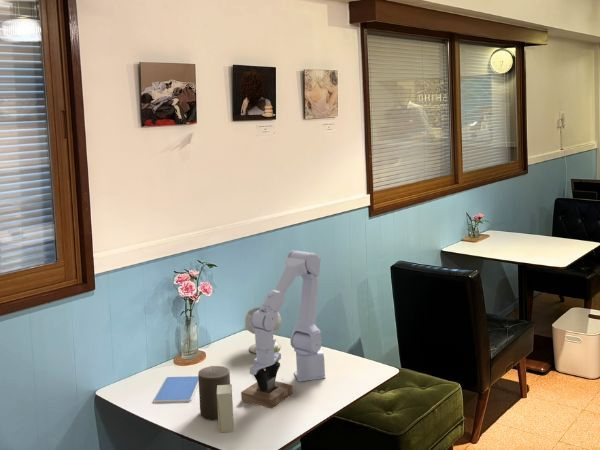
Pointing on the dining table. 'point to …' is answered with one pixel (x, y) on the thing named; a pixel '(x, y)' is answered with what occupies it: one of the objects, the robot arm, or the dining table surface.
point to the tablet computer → (177, 389)
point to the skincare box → (225, 408)
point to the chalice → (250, 328)
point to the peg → (269, 385)
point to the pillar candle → (211, 389)
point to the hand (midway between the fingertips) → (267, 387)
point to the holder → (267, 395)
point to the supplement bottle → (275, 347)
